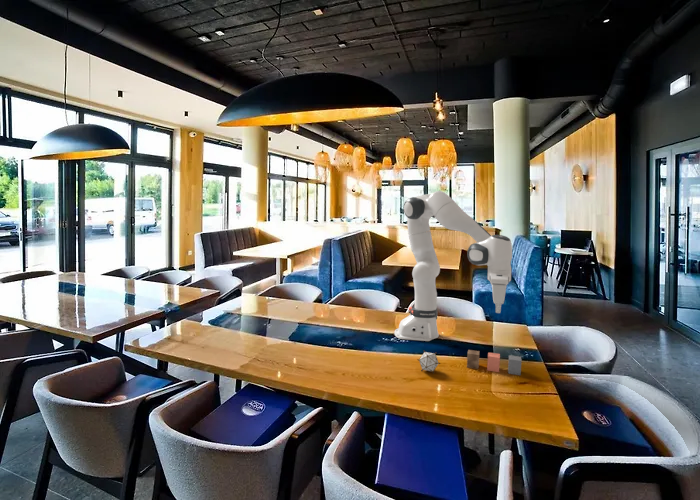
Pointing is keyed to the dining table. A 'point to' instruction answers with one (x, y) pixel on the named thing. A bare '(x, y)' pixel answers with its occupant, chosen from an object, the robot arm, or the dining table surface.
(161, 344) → the dining table surface
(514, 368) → the grey block
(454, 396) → the dining table surface
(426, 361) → the game die
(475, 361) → the walnut block
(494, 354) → the red block
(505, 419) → the dining table surface
